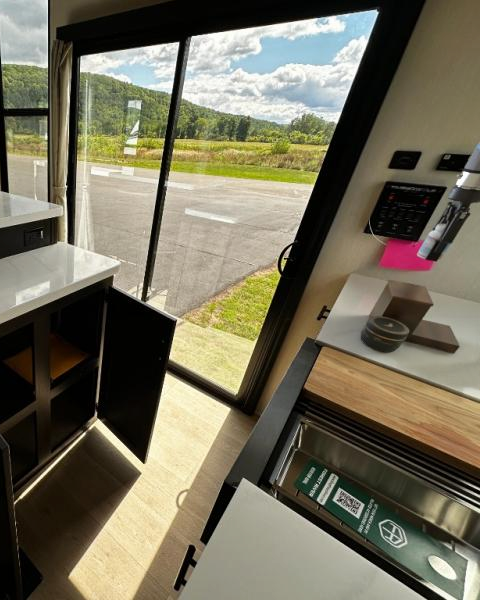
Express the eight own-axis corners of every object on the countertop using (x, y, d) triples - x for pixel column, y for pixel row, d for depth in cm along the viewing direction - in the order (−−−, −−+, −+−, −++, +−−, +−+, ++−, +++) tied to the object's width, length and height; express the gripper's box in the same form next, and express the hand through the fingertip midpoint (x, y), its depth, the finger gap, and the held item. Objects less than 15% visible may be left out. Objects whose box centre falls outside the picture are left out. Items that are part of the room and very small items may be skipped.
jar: (400, 343, 102) (413, 325, 98) (393, 358, 97) (407, 339, 93) (362, 329, 109) (373, 311, 104) (354, 342, 103) (364, 324, 99)
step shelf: (444, 332, 106) (472, 295, 98) (454, 353, 98) (486, 315, 90) (368, 314, 116) (388, 279, 108) (371, 332, 107) (393, 295, 99)
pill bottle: (430, 254, 111) (449, 222, 105) (445, 261, 106) (466, 229, 99) (411, 253, 111) (429, 222, 105) (425, 261, 106) (445, 229, 100)
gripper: (447, 179, 104) (410, 245, 117) (462, 192, 91) (418, 264, 104) (480, 181, 100) (438, 249, 113) (500, 195, 87) (450, 270, 100)
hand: (429, 256), depth 108 cm, fingers closed on pill bottle, 6 cm apart
